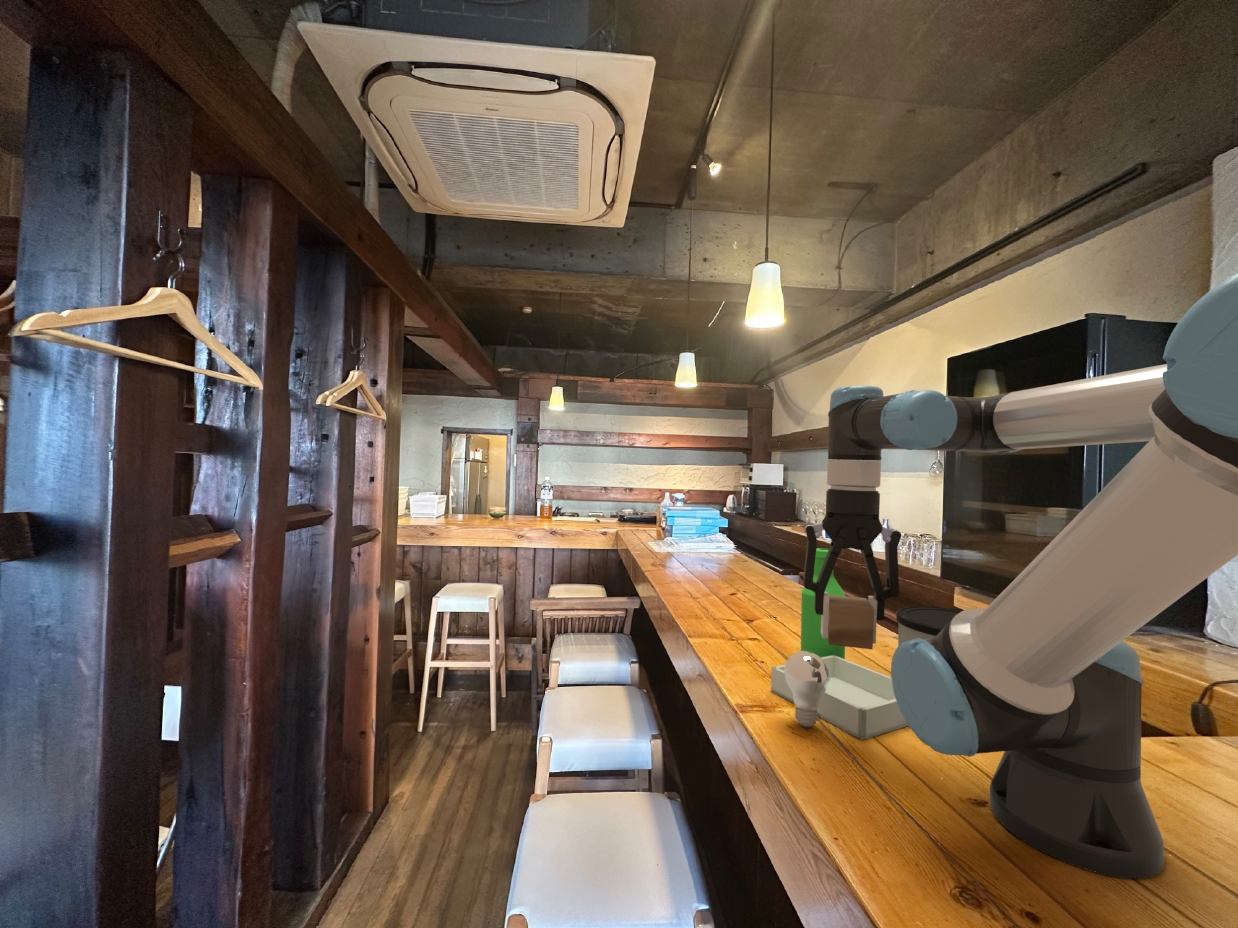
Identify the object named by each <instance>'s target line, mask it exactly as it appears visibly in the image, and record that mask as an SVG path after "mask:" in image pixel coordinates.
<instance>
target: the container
mask: <svg viewBox="0 0 1238 928" xmlns="http://www.w3.org/2000/svg"><path fill="white" fill-rule="evenodd" d="M962 611H964V609H959V608H951V607H943V606H941V607H940V606H929V605H928V606H925V605H923V606H922V605H921V606H906V607H902V608H899V609H897V610H896V614H895V615H896V618H895V619H896V622H897V623H898V625H897V626H898V630H897V631H898V637H897V639H898V641H897V643H898V644H897V645H898V646H899V645H900V644H902V643H903V642H906V641H910V640H912V639H915V638H921V639H924V640H928V639H931V638H933V637H935V636H937V635H938V634H939V633H940V632H941V631H942V630H943V628H944V627H945V626H946V625H947V624H948V623H949V622H950V621H951V620H952V619H953V618H954V617H955V616H956V615H957V614H959V613H960V612H962ZM898 646H897V647H898Z"/></svg>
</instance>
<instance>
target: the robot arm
mask: <svg viewBox="0 0 1238 928" xmlns="http://www.w3.org/2000/svg"><path fill="white" fill-rule="evenodd" d="M1162 359H1163V360H1164V361H1165V362H1166V363H1165V364H1160V365H1154V366H1149V367H1148V366H1147V367H1143V368H1137V369H1132V370H1125V371H1121V372H1116V373H1111V374H1105V375H1100V376H1094V377H1087V378H1082V379H1076V380H1073V381H1072V380H1071V381H1067V382H1061V383H1056V384H1051V385H1045V386H1039V387H1035V388H1027V389H1022V390H1018V391H1012V392H1009V393H1008V392H1007V393H1002V394H1001V393H1000V394H996V395H991V396H982V397H972V396H969V397H967V396H966V397H965V396H955V395H954V396H952V395H945V394H943V393H941V392H940V391H937V390H933V389H932V390H930V389H926V390H915V389H913V390H912V389H911V390H907V391H905V392H900V393H896V394H891V395H890V394H889V395H885V396H884V390H883V389H882V388H880V387H879V386H875V385H873V386H872V385H850V386H842V387H838V388H836V389H834V390H833V391H832V392H831V394H830V403H829V411H828V413H827V416H828V417H827V418H828V429H827V431H828V432H827V435H828V437H827V477H826V484H827V485H829V486H830V488H827V490H826V495H825V497H826V498H825V516H824V518H823V519H822V521H821V522H820V523H815V524H809V523H808V524H805V526H804V530H805V535H806V539H807V540H806V548H805V559H804V566H803V567H804V570H803V576H802V583H803V586H804V587H805V588H806V589H809V590H811V591H813V592H814V593H815V603H814V609H815V612H816V614H819V615H821V635H822V637H823V638H828V621H829V594H828V592H825V589H826V587H827V584H828V582H829V579H830V577H831V574H832V571H833V572H834V570H833V569H835V566H836V563H837V560H838V558H839V556H840V554H841V552H842V550H850V549H853V550H855V551H856V550H857V551H860V553H861V555H862V559H863V562H864V566H865V569H866V572H867V575H868V579H869V582H870V585H871V589H872V592H873V595H868V596H867V597H868V598H867V600H868V602H869V603H870V605H871V606H872V607H873V608H874V626H873V645H877V642H876V641H877V623H878V622H877V621H880V622H883V621H884V619H885V605H886V604H885V602H886V601H887V599H891V598H897V597H899V595H900V584H899V582H900V581H899V580H900V579H899V554H898V553H899V551H898V546H899V544H900V541H901V539H902V533H901V532H900V531H899V530H897V529H890V528H888V527H884V526H883V525H882V523H881V520H880V501H881V500H880V499H881V493H880V492H879V491H878V490H877V488H879V487H880V486H881V475H882V474H881V473H882V471H881V470H882V450H907V451H914V450H915V451H939V452H941V451H942V452H943V451H945V452H947V451H948V452H954V451H955V452H970V453H972V452H973V453H986V454H1008V453H1015V452H1016V453H1017V452H1018V451H1022V450H1028V449H1029V450H1031V449H1044V448H1045V449H1046V448H1061V447H1062V448H1065V447H1077V446H1091V445H1092V446H1093V445H1094V446H1095V445H1108V444H1110V445H1112V444H1126V443H1141V442H1143V443H1144V442H1147V443H1146V444H1145V445H1144V446H1143V447H1142V448H1141V449H1140V450H1139V451H1138V452H1137V453H1136V455H1134V457H1132V458H1131V459H1130V460H1129V462H1127V464H1125V465H1124V467H1123V468H1122V469H1120V471H1119V472H1118V473H1117V474H1116V475H1115V476H1114V477H1113V478H1111V480H1110V481H1109V482H1108V483H1107V484H1106V485H1105V486H1104V487H1103V488H1102V489H1101V490H1100V491H1099V493H1097V494H1096V496H1094V498H1093V499H1092V500H1090V501H1089V502H1088V504H1087V505H1085V507H1084V508H1083V509H1082V510H1081V511H1080V512H1079V513H1078V514H1077V515H1076V516H1075V517H1074V518H1073V519H1072V520H1071V521H1070V522H1069V523H1068V524H1067V525H1066V526H1065V527H1064V528H1063V529H1062V530H1061V531H1060V532H1059V533H1058V534H1057V535H1056V536H1055V537H1054V538H1053V539H1052V540H1051V541H1050V542H1049V544H1047V545H1046V547H1045V548H1043V550H1042V551H1040V553H1038V554H1037V556H1036V557H1035V558H1034V559H1033V560H1032V561H1031V562H1030V563H1029V564H1028V565H1027V566H1026V567H1025V568H1024V569H1023V570H1021V572H1020V573H1018V575H1017V576H1016V577H1015V578H1014V579H1013V581H1011V583H1009V585H1007V587H1006V588H1005V589H1003V590H1002V591H1001V593H1000V594H998V596H997V597H996V598H995V599H994V600H993V601H992V602H990V604H989V605H987V607H986V608H977V607H976V608H968V609H965V610H964V609H963V610H964V611H962V612H960V613H959V614H957V615H956V616H955V617H954V618H953V619H952V620H951V621H950V622H949V623H948V624H947V625H946V626H945V627H944V628H943V630H942V631H941V632H940V633H939V634H938V635H937V636H935V637H933V638H931V639H928V640H924V639H921V638H915V639H912V640H910V641H906V642H903V643H902V644H900V645H899V646H897V647H896V649H895V650H894V652H893V654H892V657H891V663H890V677H891V678H892V684H893V691H894V695H895V698H896V701H897V704H898V706H899V708H900V711H901V713H902V715H903V717H904V718H905V720H906V722H907V724H908V725H909V726H908V727H909V728H910V730H911V731H912V732H913V733H914V735H915V736H916V738H918V739H919V740H920V741H921V742H922V743H923V744H924V745H926V746H928V747H930V748H931V749H932V750H933V751H935V752H936V753H939V754H942V755H945V756H946V755H947V756H963V757H968V758H970V757H973V756H975V755H977V754H986V753H998V752H1000V753H1001V752H1003V754H1002V757H1001V759H1000V761H999V763H998V765H997V768H996V770H995V771H994V774H993V777H992V779H991V782H990V785H989V807H990V810H991V812H992V814H993V816H994V817H995V818H996V820H997V821H998V822H999V823H1000V824H1002V826H1003V827H1004V828H1005V829H1007V830H1008V831H1009V832H1011V833H1012V834H1013V835H1015V836H1016V837H1017V838H1019V839H1020V840H1021V841H1023V842H1025V843H1026V844H1027V845H1030V846H1032V847H1033V848H1035V849H1037V850H1039V851H1041V852H1042V853H1045V854H1047V856H1048V855H1049V856H1051V857H1053V858H1055V859H1056V860H1059V861H1062V862H1064V863H1065V864H1066V863H1067V864H1069V865H1071V866H1075V867H1077V868H1080V869H1083V870H1085V871H1086V870H1087V871H1089V870H1091V871H1090V872H1093V871H1096V872H1097V873H1098V874H1101V875H1104V876H1105V875H1106V876H1109V877H1115V878H1116V877H1117V878H1122V879H1134V880H1136V879H1137V880H1138V879H1140V880H1141V879H1147V878H1148V879H1149V878H1153V877H1155V876H1158V875H1159V874H1160V873H1161V872H1162V871H1164V867H1165V845H1164V844H1165V843H1164V839H1163V836H1162V835H1161V832H1160V828H1159V826H1158V823H1157V821H1156V818H1155V816H1154V813H1153V810H1152V808H1151V806H1150V803H1149V800H1148V797H1147V796H1146V793H1145V791H1144V788H1143V785H1142V781H1141V780H1142V779H1141V777H1142V775H1141V773H1142V770H1141V768H1142V767H1141V763H1142V687H1143V686H1144V680H1143V678H1142V672H1141V671H1142V670H1141V662H1140V661H1141V659H1140V656H1139V654H1138V652H1137V651H1136V649H1134V648H1133V647H1132V646H1131V645H1129V644H1128V643H1126V642H1123V641H1125V640H1126V639H1127V638H1128V637H1130V636H1131V635H1133V634H1134V633H1135V632H1136V631H1138V630H1139V629H1140V628H1142V627H1143V626H1145V625H1146V624H1147V623H1149V622H1150V621H1152V620H1153V619H1154V618H1155V617H1157V616H1158V615H1159V614H1161V613H1162V612H1163V611H1165V610H1166V609H1167V608H1169V607H1171V605H1173V604H1174V603H1175V602H1177V601H1178V600H1179V599H1181V598H1182V597H1183V596H1185V595H1186V594H1187V593H1189V592H1190V591H1191V590H1193V589H1194V588H1196V586H1199V585H1200V584H1201V583H1202V582H1204V581H1205V580H1206V579H1208V577H1210V576H1211V575H1213V574H1214V573H1215V572H1216V571H1219V570H1220V569H1221V568H1222V567H1224V566H1225V565H1226V564H1228V563H1229V562H1230V561H1232V560H1233V559H1234V558H1236V557H1237V556H1238V272H1236V273H1234V274H1233V275H1231V276H1229V277H1228V278H1226V279H1225V280H1223V281H1221V282H1220V283H1218V284H1217V285H1216V286H1214V287H1213V288H1212V289H1210V290H1209V291H1208V292H1206V293H1205V294H1204V295H1203V296H1202V297H1200V298H1199V299H1198V300H1197V301H1196V302H1195V303H1194V304H1193V305H1192V306H1191V307H1190V308H1189V309H1188V310H1187V311H1186V312H1185V314H1184V315H1183V316H1182V317H1181V319H1180V320H1179V321H1178V322H1177V324H1176V326H1175V327H1174V329H1173V330H1172V332H1171V333H1170V336H1169V338H1168V340H1167V342H1166V345H1165V347H1164V352H1163V356H1162ZM822 531H824V532H825V533H826V535H827V536H828V537H829V539H830V540H831V542H830V544H829V546H828V549H829V551H828V553H827V556H826V558H825V561H824V564H823V566H822V569H821V571H820V574H819V577H818V579H817V582H814V581H813V575H814V566H815V557H816V549H817V548H818V543H817V541H818V540H817V539H819V538H820V537H821V533H822ZM880 534H881V539H882V541H883V542H884V543H885V544H884V554H885V555H884V557H885V560H884V561H885V584H886V586H885V587H883V582H882V580H881V575H880V573H879V570H878V566H877V563H876V559H875V554H874V552H873V551H874V550H873V548H872V545H871V544H872V543H873V542H874V541H875V540H877V537H879V535H880ZM804 587H803V588H804ZM1096 872H1095V873H1096ZM1152 876H1153V877H1152Z"/></svg>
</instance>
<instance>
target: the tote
mask: <svg viewBox="0 0 1238 928" xmlns="http://www.w3.org/2000/svg"><path fill="white" fill-rule="evenodd" d="M821 658H822V659H823V660H824V662H825V663H826V665H827V667H828V669H829V673H830V682H829V685H828V688H827V690H826V691H825V692H824V694H823V695H822V697H821V699H820V702H819V706H818V708H817V717H818V718H820V719H822V720H824V721H826V722H828V723H829V724H831V725H833V726H836V727H837V728H839V729H841V730H842V731H844V732H846V733H848V734H850V735H852V736H853V737H856V738H857V739H859V740H861V741H865V740H867V739H871V738H874V737H877V736H881V735H884V734H886V733H889V732H894V731H896V730H900V729H902V728H907V727H909V725H908V724H907V722H906V720H905V718H904V717H903V715H902V713H901V711H900V708H899V706H898V704H897V701H896V698H895V695H894V691H893V684H892V678H891V676H888V675H887V674H883V673H881V672H878V671H876V670H873V669H870V668H868V667H866V666H863V665H859V664H857V663H855V662H853V661H850V660H847V659H846V658H845V659H843V658H840V657H837V656H835V655H832V656H827V657H821ZM784 668H785V664H781V665H776V666H772V667H771V671H770V672H771V673H770V674H771V675H770V676H771V680H770V682H771V683H770V684H771V685H770V692H771V693H774V695H778V696H779V697H780V698H782V699H785V700H786V701H789V702H790V703H792V704H794V705H795V703H794V699H793V694H792V692H791V690H790V688H789V686H788V684H787V682H786V680H785V675H784Z"/></svg>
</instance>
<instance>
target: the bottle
mask: <svg viewBox="0 0 1238 928" xmlns="http://www.w3.org/2000/svg"><path fill="white" fill-rule="evenodd" d="M828 551H829V548H824V547H823V548H821V547H820V548H818V547H816V557H815V566H814V575H813V581H814V582H817V579H818V577H819V574H820V571H821V569H822V566H823V564H824V561H825V558H826V556H827V553H828ZM834 569H835V568H834ZM834 569H833V571H832V574H831V577H830V579H829V582H828V584H827V587H826V589H825V592H828V594H829V595H835V596H846V593H845V592H844V591H843V589H842V587H841V585H839V584H840V583H838V581H837V579H836V578H835V575H834ZM846 597H847V596H846ZM814 603H815V593H814V592H813V591H811V590H809V589H806V588H805V587H803V589H801V603H800V604H801V606H800V607H801V608H800V609H801V610H800V611H801V612H800V613H801V614H800V616H801V618H800V621H801V622H800V651H810V652H813V653H815V654H817V655H818V656H819V657H827V656H832V655H835V656H837V657H840V658H843V659H845V660H846V657H845V656H846V646H837V645H829V643H828V640H827V638H823V637H822V635H821V615H819V614H816V612H815V609H814Z"/></svg>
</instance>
